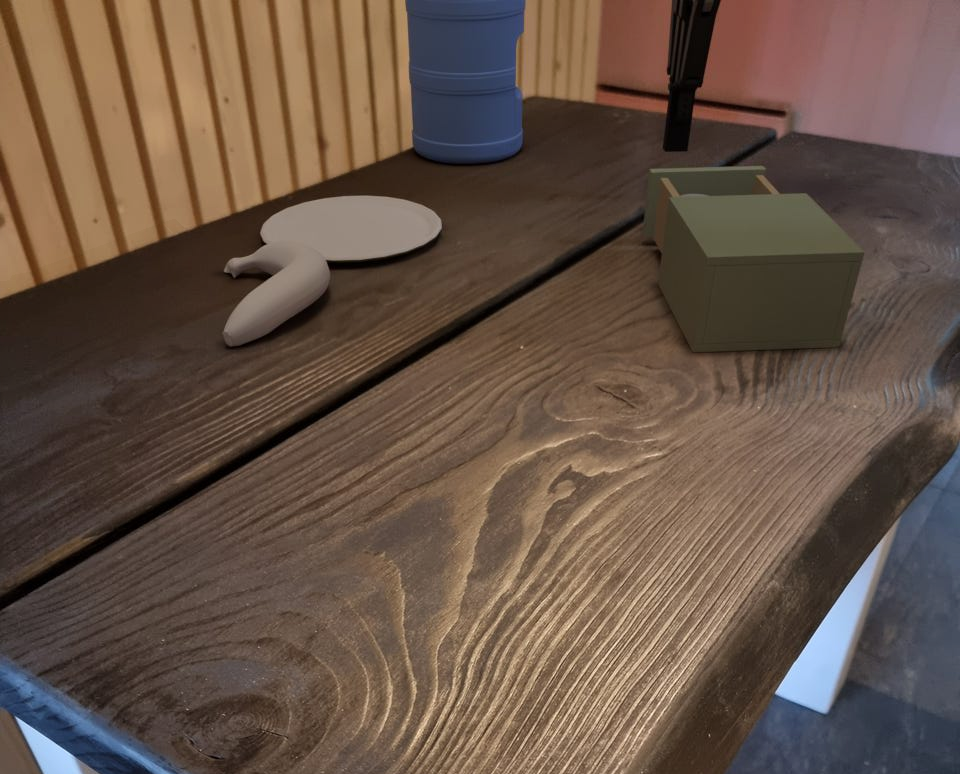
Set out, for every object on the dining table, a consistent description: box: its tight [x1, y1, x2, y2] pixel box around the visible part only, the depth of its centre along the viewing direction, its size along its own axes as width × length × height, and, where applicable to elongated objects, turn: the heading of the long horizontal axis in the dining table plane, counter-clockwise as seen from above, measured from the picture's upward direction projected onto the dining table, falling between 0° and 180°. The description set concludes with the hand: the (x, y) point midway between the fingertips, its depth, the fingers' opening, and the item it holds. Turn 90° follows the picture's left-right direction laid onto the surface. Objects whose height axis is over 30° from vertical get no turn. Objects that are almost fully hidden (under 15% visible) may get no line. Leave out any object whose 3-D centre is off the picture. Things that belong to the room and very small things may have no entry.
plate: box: [259, 195, 443, 264], centre depth 106 cm, size 21×21×1 cm
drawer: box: [642, 165, 781, 254], centre depth 98 cm, size 19×12×7 cm, turn 3°
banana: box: [221, 241, 331, 348], centre depth 91 cm, size 5×19×15 cm
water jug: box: [404, 0, 527, 165], centre depth 122 cm, size 16×16×28 cm
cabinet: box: [657, 192, 865, 353], centre depth 87 cm, size 16×14×9 cm
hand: (674, 149), depth 111 cm, fingers closed
